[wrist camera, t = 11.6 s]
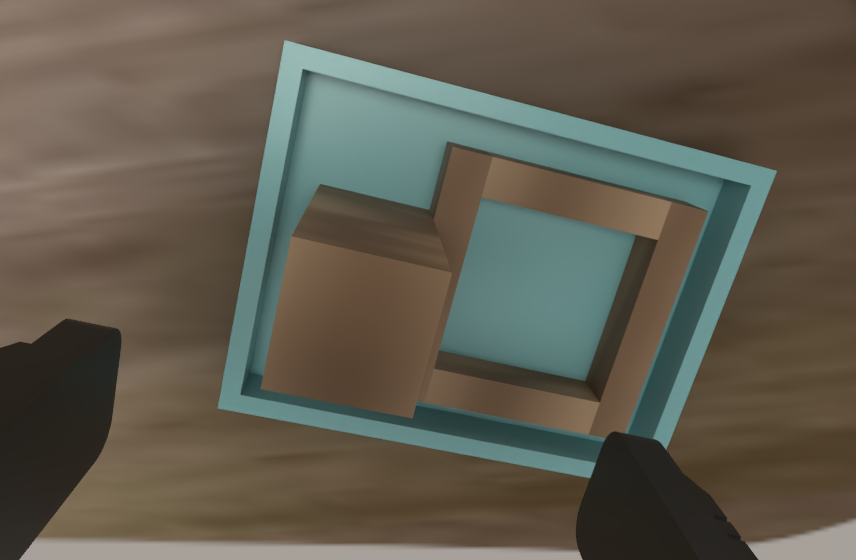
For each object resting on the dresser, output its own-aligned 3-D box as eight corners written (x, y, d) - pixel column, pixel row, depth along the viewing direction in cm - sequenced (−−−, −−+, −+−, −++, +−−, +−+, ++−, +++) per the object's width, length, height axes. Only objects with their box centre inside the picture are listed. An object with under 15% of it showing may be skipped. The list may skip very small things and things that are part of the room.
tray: (738, 161, 22) (777, 170, 20) (627, 454, 25) (650, 489, 23) (294, 43, 20) (284, 40, 18) (232, 377, 23) (217, 408, 21)
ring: (685, 201, 22) (822, 258, 15) (606, 417, 24) (695, 552, 17) (335, 112, 20) (312, 132, 13) (285, 352, 22) (243, 473, 15)
